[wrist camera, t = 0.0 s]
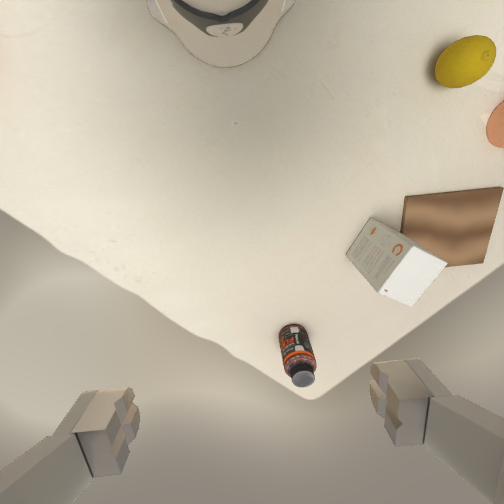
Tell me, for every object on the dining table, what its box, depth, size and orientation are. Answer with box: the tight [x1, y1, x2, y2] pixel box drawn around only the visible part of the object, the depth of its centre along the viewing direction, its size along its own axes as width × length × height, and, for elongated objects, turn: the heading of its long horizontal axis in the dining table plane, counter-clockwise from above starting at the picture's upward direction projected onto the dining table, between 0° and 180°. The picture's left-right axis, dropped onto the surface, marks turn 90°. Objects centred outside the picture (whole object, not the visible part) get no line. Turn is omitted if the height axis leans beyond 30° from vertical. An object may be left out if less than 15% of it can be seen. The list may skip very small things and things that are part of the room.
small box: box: [346, 218, 448, 307], centre depth 44 cm, size 8×6×13 cm
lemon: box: [435, 35, 496, 88], centre depth 36 cm, size 6×6×8 cm
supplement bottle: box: [279, 325, 316, 387], centre depth 53 cm, size 6×6×11 cm
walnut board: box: [400, 187, 504, 267], centre depth 49 cm, size 14×16×1 cm
